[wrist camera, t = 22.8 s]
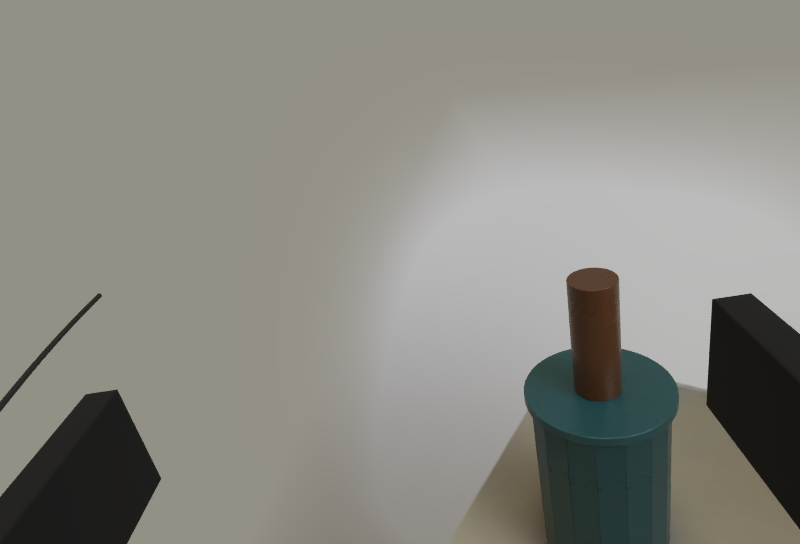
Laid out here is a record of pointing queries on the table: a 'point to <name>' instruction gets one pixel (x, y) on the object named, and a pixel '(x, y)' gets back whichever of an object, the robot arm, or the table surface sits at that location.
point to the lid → (599, 375)
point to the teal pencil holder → (605, 490)
